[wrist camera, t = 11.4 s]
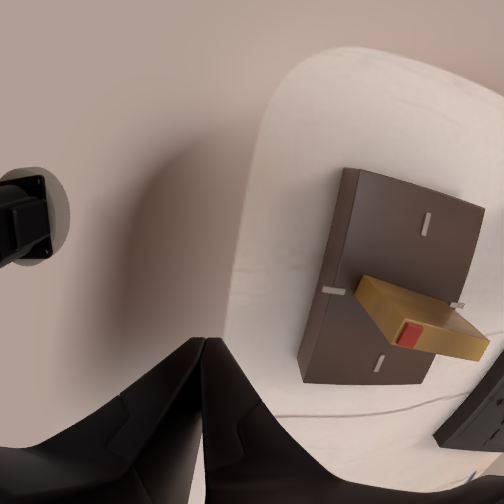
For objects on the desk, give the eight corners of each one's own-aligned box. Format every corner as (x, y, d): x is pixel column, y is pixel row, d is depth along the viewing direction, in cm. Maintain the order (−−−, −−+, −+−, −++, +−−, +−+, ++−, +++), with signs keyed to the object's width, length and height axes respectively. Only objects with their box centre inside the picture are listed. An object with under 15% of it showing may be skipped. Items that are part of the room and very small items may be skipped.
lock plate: (412, 363, 24) (427, 385, 20) (288, 357, 23) (294, 384, 20) (466, 203, 20) (492, 211, 17) (334, 164, 19) (350, 166, 16)
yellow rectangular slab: (444, 301, 18) (493, 343, 13) (435, 319, 19) (480, 364, 13) (363, 274, 18) (407, 320, 12) (353, 295, 18) (392, 347, 13)
